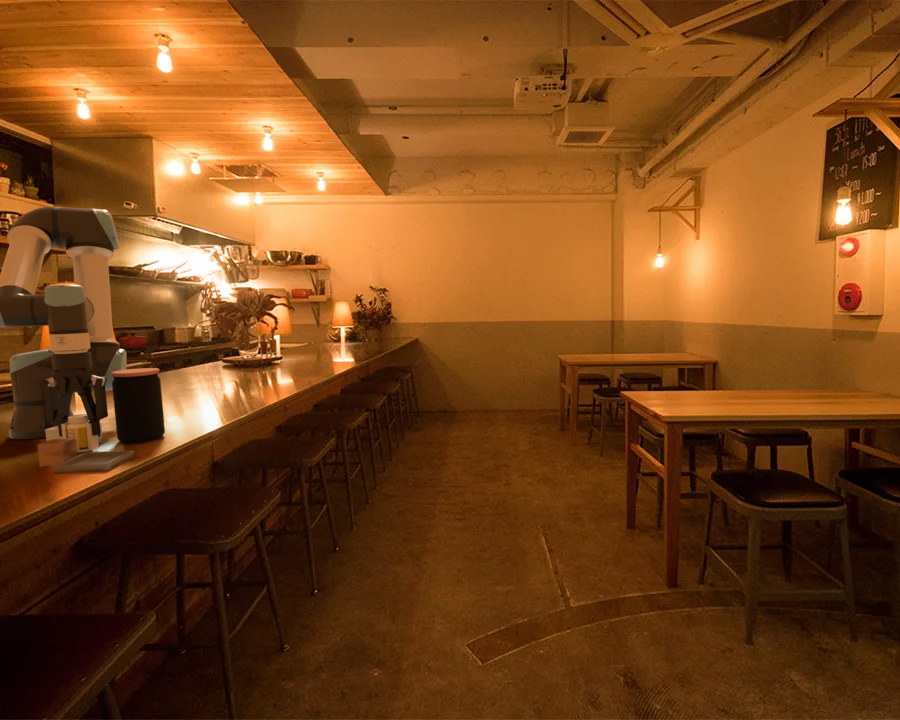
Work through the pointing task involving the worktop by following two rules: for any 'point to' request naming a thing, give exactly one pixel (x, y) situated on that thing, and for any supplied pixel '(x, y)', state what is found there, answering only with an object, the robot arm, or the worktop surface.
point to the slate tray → (93, 461)
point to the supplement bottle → (78, 431)
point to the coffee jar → (138, 405)
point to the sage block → (52, 433)
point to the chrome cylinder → (100, 436)
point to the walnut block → (57, 451)
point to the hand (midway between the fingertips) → (81, 448)
